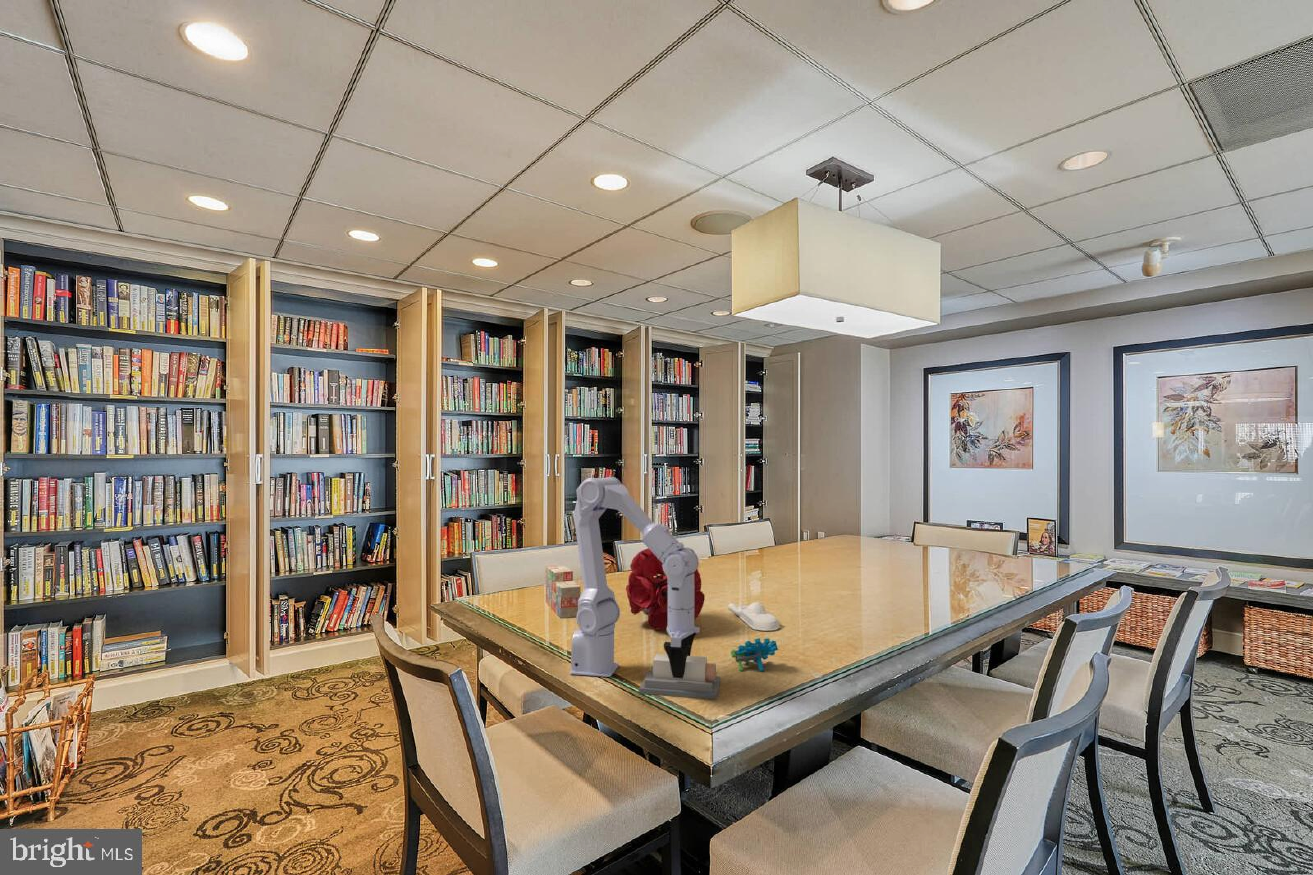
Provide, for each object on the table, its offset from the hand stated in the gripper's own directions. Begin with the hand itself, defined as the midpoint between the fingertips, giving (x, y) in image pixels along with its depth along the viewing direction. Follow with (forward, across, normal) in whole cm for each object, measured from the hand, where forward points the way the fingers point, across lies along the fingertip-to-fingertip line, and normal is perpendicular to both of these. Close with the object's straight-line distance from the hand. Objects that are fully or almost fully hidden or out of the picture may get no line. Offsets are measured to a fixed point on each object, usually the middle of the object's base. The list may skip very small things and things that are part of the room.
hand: (680, 670), depth 126 cm
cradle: (+3, 0, 0) cm, 3 cm away
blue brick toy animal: (+4, +15, -15) cm, 22 cm away
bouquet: (+4, +45, +12) cm, 47 cm away
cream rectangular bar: (+2, 0, 0) cm, 2 cm away
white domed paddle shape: (+4, +53, -15) cm, 55 cm away
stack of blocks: (+4, +56, +47) cm, 73 cm away
